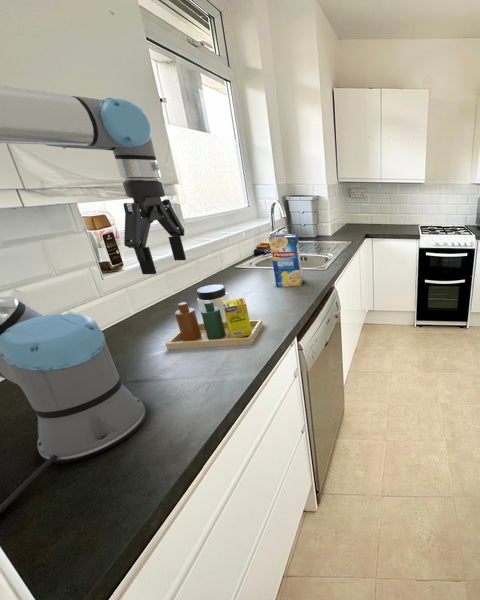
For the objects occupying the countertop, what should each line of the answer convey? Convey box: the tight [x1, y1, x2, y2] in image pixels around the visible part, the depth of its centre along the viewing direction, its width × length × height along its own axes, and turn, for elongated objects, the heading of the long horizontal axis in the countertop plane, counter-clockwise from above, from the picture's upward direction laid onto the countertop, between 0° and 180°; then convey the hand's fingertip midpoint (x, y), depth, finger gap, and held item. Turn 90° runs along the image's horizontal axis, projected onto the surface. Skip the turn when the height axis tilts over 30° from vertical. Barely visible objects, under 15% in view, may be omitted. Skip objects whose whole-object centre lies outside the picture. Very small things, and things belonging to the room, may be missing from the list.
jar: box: [196, 284, 230, 323], centre depth 104 cm, size 9×8×12 cm
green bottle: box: [200, 301, 226, 340], centre depth 93 cm, size 5×5×11 cm
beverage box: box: [268, 233, 304, 288], centre depth 139 cm, size 7×11×22 cm, turn 100°
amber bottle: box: [174, 301, 201, 341], centre depth 92 cm, size 5×5×11 cm
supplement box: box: [222, 297, 252, 338], centre depth 94 cm, size 6×6×11 cm
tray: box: [165, 319, 264, 351], centre depth 95 cm, size 13×23×3 cm, turn 98°
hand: (166, 266), depth 82 cm, fingers open, 13 cm apart
